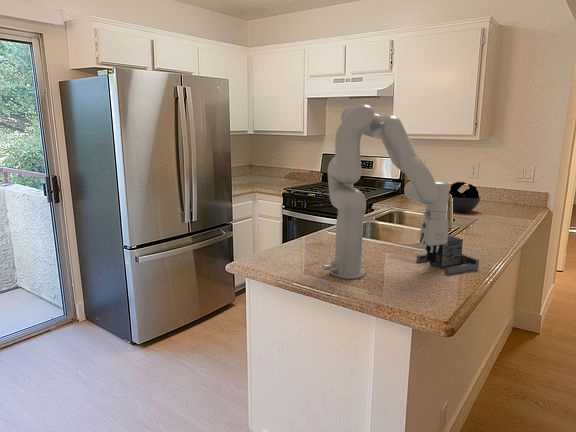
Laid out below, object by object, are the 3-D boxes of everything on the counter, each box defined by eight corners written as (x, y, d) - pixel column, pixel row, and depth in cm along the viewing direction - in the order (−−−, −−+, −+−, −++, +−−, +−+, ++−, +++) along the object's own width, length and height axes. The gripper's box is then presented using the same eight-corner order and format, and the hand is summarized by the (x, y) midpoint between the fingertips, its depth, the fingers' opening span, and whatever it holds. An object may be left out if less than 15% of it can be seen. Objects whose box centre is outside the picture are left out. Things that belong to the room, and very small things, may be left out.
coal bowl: (444, 207, 281) (447, 179, 277) (477, 210, 274) (480, 181, 270) (444, 213, 262) (447, 183, 258) (480, 216, 256) (483, 185, 252)
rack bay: (447, 275, 155) (448, 264, 154) (416, 261, 170) (417, 251, 169) (478, 269, 161) (479, 259, 160) (445, 257, 176) (445, 247, 175)
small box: (449, 260, 171) (451, 235, 169) (461, 265, 166) (464, 239, 163) (428, 263, 167) (430, 238, 165) (440, 268, 161) (443, 242, 159)
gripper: (426, 217, 151) (422, 266, 155) (458, 215, 157) (453, 262, 161) (412, 213, 158) (408, 260, 162) (443, 211, 164) (438, 256, 168)
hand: (430, 261), depth 161 cm, fingers closed
